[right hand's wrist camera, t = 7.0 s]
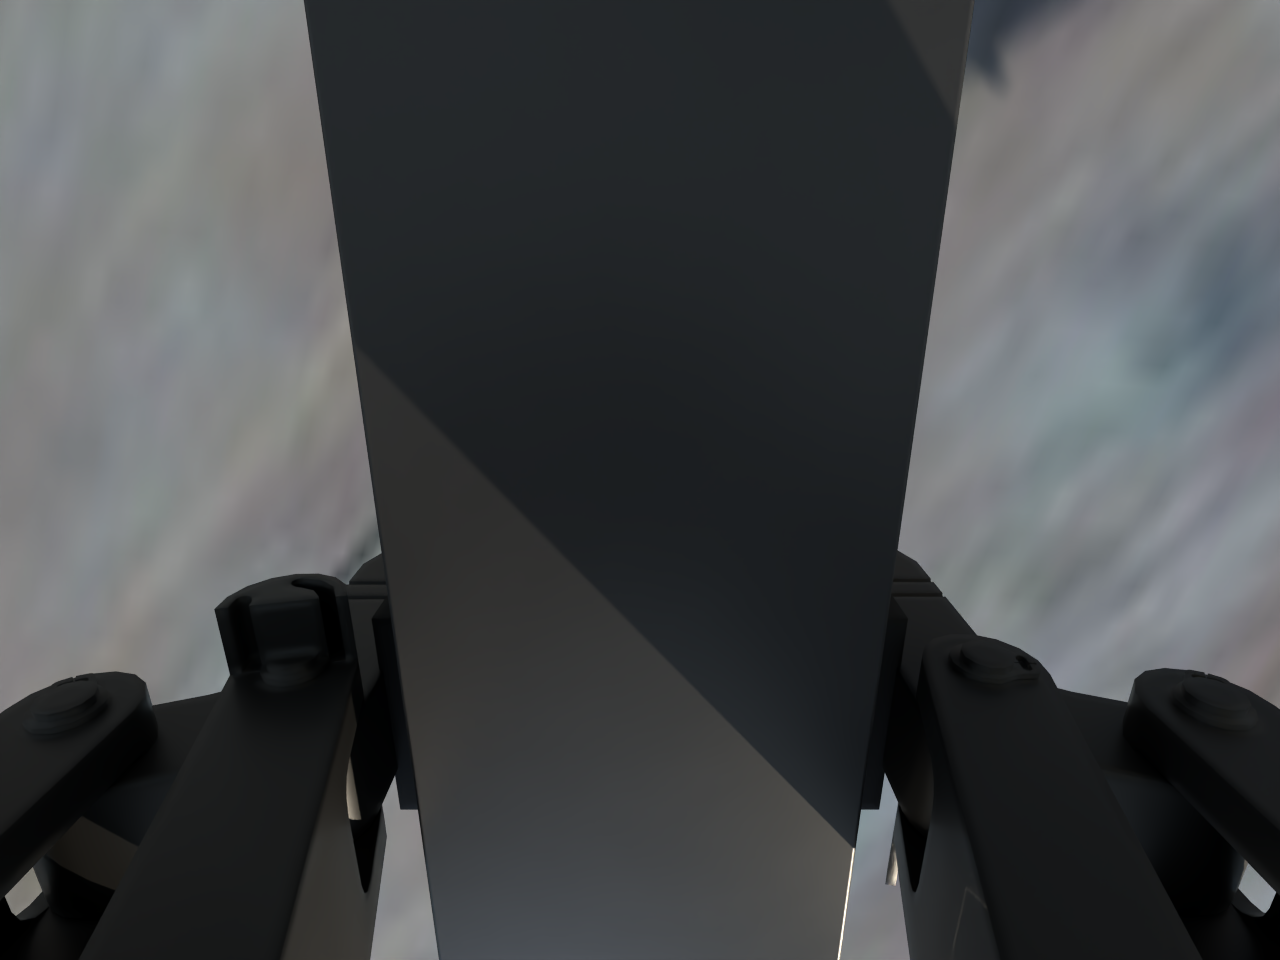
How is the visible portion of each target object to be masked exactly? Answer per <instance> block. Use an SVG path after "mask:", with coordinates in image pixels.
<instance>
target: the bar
mask: <svg viewBox="0 0 1280 960" xmlns="http://www.w3.org/2000/svg"><path fill="white" fill-rule="evenodd" d="M974 1H975V0H304V5H305V12H306V19H307V26H308V33H309V40H310V47H311V54H312V61H313V69H314V76H315V83H316V90H317V97H318V104H319V111H320V118H321V125H322V132H323V139H324V147H325V154H326V161H327V168H328V175H329V182H330V189H331V196H332V203H333V210H334V218H335V225H336V232H337V239H338V246H339V253H340V260H341V267H342V274H343V281H344V288H345V296H346V303H347V310H348V317H349V324H350V331H351V338H352V345H353V352H354V359H355V366H356V374H357V381H358V388H359V395H360V402H361V409H362V416H363V423H364V430H365V437H366V445H367V452H368V459H369V466H370V473H371V480H372V487H373V494H374V501H375V508H376V515H377V523H378V530H379V537H380V544H381V551H382V558H383V565H384V572H385V579H386V586H387V594H388V601H389V608H390V615H391V622H392V629H393V636H394V643H395V650H396V657H397V664H398V672H399V679H400V686H401V693H402V700H403V707H404V714H405V721H406V728H407V735H408V742H409V750H410V757H411V764H412V771H413V778H414V785H415V792H416V799H417V806H418V813H419V821H420V828H421V835H422V842H423V849H424V856H425V863H426V870H427V877H428V884H429V891H430V899H431V906H432V913H433V920H434V927H435V934H436V941H437V948H438V955H439V960H840V955H841V948H842V941H843V934H844V927H845V920H846V913H847V905H848V898H849V891H850V884H851V877H852V870H853V863H854V856H855V848H856V841H857V834H858V827H859V820H860V813H861V806H862V799H863V791H864V784H865V777H866V770H867V763H868V756H869V749H870V742H871V734H872V727H873V720H874V713H875V706H876V699H877V692H878V685H879V677H880V670H881V663H882V656H883V649H884V642H885V635H886V628H887V620H888V613H889V606H890V599H891V592H892V585H893V578H894V571H895V563H896V556H897V549H898V542H899V535H900V528H901V521H902V514H903V506H904V499H905V492H906V485H907V478H908V471H909V464H910V457H911V450H912V442H913V435H914V428H915V421H916V414H917V407H918V400H919V393H920V385H921V378H922V371H923V364H924V357H925V350H926V343H927V336H928V328H929V321H930V314H931V307H932V300H933V293H934V286H935V279H936V271H937V264H938V257H939V250H940V243H941V236H942V229H943V222H944V214H945V207H946V200H947V193H948V186H949V179H950V172H951V165H952V157H953V150H954V143H955V136H956V129H957V122H958V115H959V108H960V100H961V93H962V86H963V79H964V72H965V65H966V58H967V51H968V43H969V36H970V29H971V22H972V15H973V8H974Z"/></svg>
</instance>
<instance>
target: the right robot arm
mask: <svg viewBox="0 0 1280 960" xmlns="http://www.w3.org/2000/svg"><path fill="white" fill-rule="evenodd" d="M214 610H215V614H216V618H217V622H218V626H219V631H220V635H221V639H222V643H223V647H224V651H225V656H226V660H227V664H228V668H229V672H230V676H229V678H228V680H227V682H226V684H225V686H224V688H223V690H222V691H221V692H218V693H214V694H210V695H206V696H200V697H195V698H190V699H185V700H179V701H174V702H169V703H164V704H158V705H153V706H152V703H151V700H150V696H149V693H148V689H147V686H146V683H145V682H144V681H143V680H142V679H140V678H139V677H138V676H137V675H135V674H129V673H122V672H106V673H95V674H93V673H90V674H84V675H79V676H76V678H73V677H71V678H68V679H64V680H61V681H58V682H56V683H54V684H52V685H51V686H49V687H47V688H44V689H42V690H40V691H37V692H35V693H33V694H30V695H29V696H27V697H25V698H24V699H22V700H21V701H19V702H17V703H16V704H14V705H12V706H11V707H9V708H7V709H6V710H4V711H3V712H2V713H0V960H370V956H371V949H372V941H373V934H374V927H375V919H376V912H377V905H378V897H379V890H380V883H381V875H382V868H383V861H384V853H385V846H386V839H387V835H386V827H385V820H384V814H383V808H382V803H383V801H384V799H385V797H386V794H387V792H388V790H389V787H390V785H391V783H392V781H393V778H394V776H395V777H396V784H397V790H398V797H399V803H400V809H418V806H417V799H416V792H415V785H414V778H413V771H412V764H411V757H410V750H409V742H408V735H407V728H406V721H405V714H404V707H403V700H402V693H401V686H400V679H399V672H398V664H397V657H396V650H395V643H394V636H393V629H392V622H391V615H390V608H389V601H388V594H387V586H386V579H385V572H384V565H383V558H382V553H381V554H380V555H378V556H376V557H374V558H373V559H371V560H369V561H368V562H366V563H364V564H363V565H362V566H361V568H360V569H359V570H358V571H357V572H356V574H355V575H354V576H353V577H352V579H351V580H350V581H349V585H346V584H344V583H343V582H341V581H340V580H339V579H337V578H336V577H331V576H327V575H322V574H293V575H288V576H282V577H276V578H271V579H268V580H265V581H262V582H259V583H256V584H253V585H250V586H247V587H245V588H243V589H241V590H240V591H238V592H236V593H234V594H232V595H230V596H228V597H227V598H226V599H225V600H224V601H223V602H222V603H220V604H219V605H218V606H217V607H216V608H215V609H214ZM884 774H886V776H887V778H888V780H889V783H890V785H891V787H892V789H893V792H894V794H895V796H896V798H897V801H898V808H897V814H896V820H895V826H894V832H893V838H892V844H891V850H890V857H889V863H888V869H887V876H886V884H887V885H892V886H895V884H896V878H897V873H898V874H899V881H900V888H901V896H902V903H903V910H904V918H905V925H906V932H907V940H908V947H909V954H910V960H1280V709H1279V708H1277V707H1276V706H1274V705H1273V704H1271V703H1269V702H1268V701H1266V700H1264V699H1263V698H1261V697H1259V696H1258V695H1256V694H1254V693H1253V692H1251V691H1249V690H1247V689H1245V688H1242V687H1240V686H1237V685H1235V684H1233V683H1230V682H1229V681H1228V680H1226V679H1224V678H1221V677H1218V676H1215V675H1211V674H1208V675H1205V673H1204V672H1199V671H1194V670H1179V669H1169V668H1162V669H1155V670H1149V671H1145V672H1143V673H1142V674H1141V675H1139V676H1138V677H1137V678H1136V679H1135V680H1134V684H1133V687H1132V690H1131V694H1130V697H1129V701H1128V702H1123V701H1118V700H1112V699H1107V698H1102V697H1097V696H1091V695H1086V694H1081V693H1075V692H1071V691H1067V690H1063V689H1059V688H1057V686H1056V685H1055V683H1054V681H1053V679H1052V677H1051V675H1050V674H1049V673H1048V671H1047V670H1046V669H1045V668H1044V667H1043V666H1042V664H1041V663H1040V662H1039V661H1038V660H1037V659H1035V658H1033V657H1032V656H1030V655H1029V654H1027V653H1026V652H1024V651H1022V650H1021V649H1019V648H1017V647H1014V646H1012V645H1009V644H1007V643H1004V642H1002V641H999V640H997V639H992V638H987V637H982V636H977V635H976V633H975V632H974V631H973V630H972V629H971V627H970V626H969V625H968V624H967V622H966V621H965V620H964V619H963V618H962V616H961V615H960V614H959V613H958V612H957V610H956V609H955V608H954V607H953V605H952V604H951V603H950V602H949V601H948V599H947V598H946V597H943V596H942V592H941V591H940V590H939V588H938V587H937V586H936V585H935V583H934V582H931V579H930V577H929V576H928V575H927V574H926V573H925V571H924V570H923V569H922V568H921V566H920V565H919V564H918V563H917V562H916V561H915V560H913V559H911V558H910V557H908V556H906V555H904V554H903V553H901V552H899V551H898V550H897V556H896V563H895V571H894V578H893V585H892V592H891V599H890V606H889V613H888V620H887V628H886V635H885V642H884V649H883V656H882V663H881V670H880V677H879V685H878V692H877V699H876V706H875V713H874V720H873V727H872V734H871V742H870V749H869V756H868V763H867V770H866V777H865V784H864V791H863V799H862V806H861V809H879V807H880V800H881V794H882V787H883V780H884ZM1248 863H1249V864H1250V865H1251V866H1252V867H1253V868H1254V869H1255V870H1256V871H1257V873H1258V874H1259V875H1260V876H1261V877H1262V878H1263V879H1264V880H1265V881H1266V882H1267V883H1268V884H1269V885H1270V886H1271V887H1272V888H1273V889H1274V890H1275V891H1276V894H1275V897H1274V899H1273V901H1272V904H1271V906H1270V908H1269V910H1268V911H1267V912H1266V913H1263V912H1262V911H1261V910H1259V909H1258V908H1257V907H1256V906H1255V905H1254V904H1252V903H1251V902H1250V901H1249V900H1248V899H1247V897H1246V896H1245V895H1244V894H1243V893H1242V892H1241V891H1240V890H1239V889H1238V887H1239V884H1240V882H1241V879H1242V877H1243V874H1244V872H1245V869H1246V867H1247V864H1248ZM32 867H33V868H34V871H35V873H36V876H37V878H38V881H39V883H40V886H41V888H42V892H41V894H40V895H39V896H38V897H37V898H36V899H35V900H34V901H33V902H32V903H31V905H30V906H28V907H27V908H26V909H24V910H23V911H22V912H21V913H19V914H18V915H17V916H15V915H14V914H13V913H12V912H11V910H10V908H9V905H8V903H7V901H6V898H5V895H6V894H7V893H8V892H9V891H10V890H11V889H12V888H13V887H14V886H15V885H16V884H17V883H18V882H19V881H20V880H21V879H22V877H23V876H24V875H25V874H26V873H27V872H28V871H29V870H30V869H31V868H32Z"/></svg>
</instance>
